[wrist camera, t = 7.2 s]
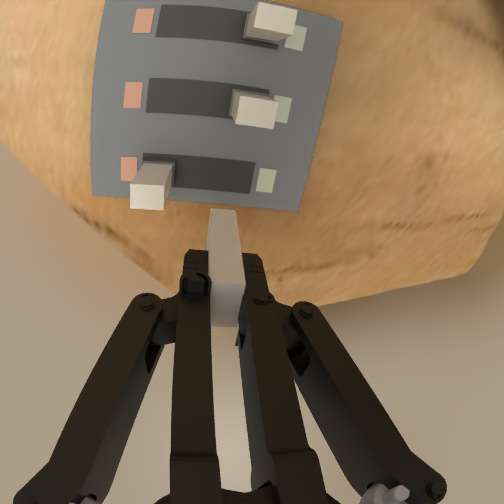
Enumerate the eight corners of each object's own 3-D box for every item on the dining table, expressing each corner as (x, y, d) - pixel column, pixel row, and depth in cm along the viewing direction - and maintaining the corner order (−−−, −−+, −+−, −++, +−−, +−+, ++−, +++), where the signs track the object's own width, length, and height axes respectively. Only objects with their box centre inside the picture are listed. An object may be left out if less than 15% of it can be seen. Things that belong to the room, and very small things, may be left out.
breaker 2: (232, 88, 22) (237, 92, 17) (267, 93, 23) (282, 99, 18) (227, 114, 23) (232, 126, 19) (262, 119, 24) (275, 132, 19)
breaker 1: (246, 14, 18) (256, -2, 13) (281, 21, 19) (301, 8, 14) (241, 38, 20) (249, 29, 15) (276, 45, 20) (294, 38, 15)
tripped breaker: (143, 158, 24) (127, 181, 20) (176, 159, 25) (167, 183, 20) (143, 182, 26) (127, 210, 21) (174, 184, 26) (165, 212, 22)
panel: (110, -3, 16) (106, -6, 15) (338, 23, 20) (343, 21, 19) (96, 191, 27) (91, 196, 26) (295, 207, 31) (298, 212, 30)
